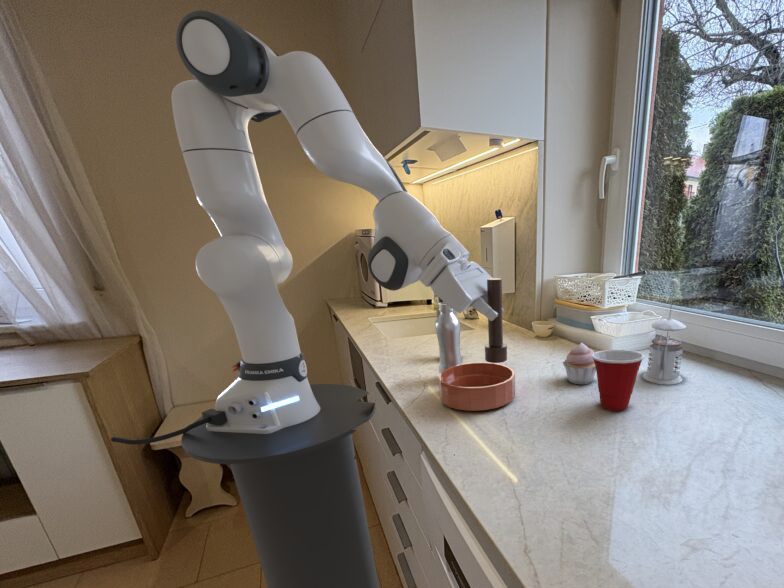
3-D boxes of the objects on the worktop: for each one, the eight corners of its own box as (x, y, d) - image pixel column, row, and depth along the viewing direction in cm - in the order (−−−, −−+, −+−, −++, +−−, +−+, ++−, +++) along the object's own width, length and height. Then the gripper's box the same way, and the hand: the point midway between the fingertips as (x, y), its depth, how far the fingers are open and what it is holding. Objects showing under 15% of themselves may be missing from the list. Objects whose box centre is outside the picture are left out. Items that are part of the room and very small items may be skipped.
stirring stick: (485, 363, 81) (482, 280, 75) (485, 356, 85) (482, 277, 79) (507, 362, 81) (506, 280, 76) (506, 356, 85) (505, 277, 80)
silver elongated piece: (468, 376, 109) (464, 301, 102) (457, 385, 103) (452, 306, 96) (446, 374, 111) (440, 300, 104) (435, 383, 105) (427, 305, 98)
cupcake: (586, 372, 111) (588, 336, 107) (605, 383, 103) (608, 345, 99) (555, 377, 108) (556, 340, 104) (573, 389, 100) (574, 349, 96)
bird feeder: (684, 374, 108) (698, 277, 99) (679, 389, 98) (694, 283, 89) (646, 369, 112) (656, 275, 103) (637, 383, 103) (647, 281, 94)
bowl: (437, 415, 87) (434, 389, 85) (444, 386, 103) (442, 363, 101) (517, 412, 88) (517, 386, 86) (512, 383, 104) (512, 361, 102)
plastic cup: (621, 393, 97) (625, 344, 93) (649, 411, 87) (655, 357, 83) (580, 399, 94) (582, 349, 89) (604, 419, 84) (608, 363, 80)
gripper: (455, 269, 89) (500, 316, 91) (414, 281, 70) (471, 339, 72) (474, 248, 87) (520, 296, 88) (437, 254, 68) (495, 315, 69)
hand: (498, 315), depth 80 cm, fingers closed on stirring stick, 3 cm apart
